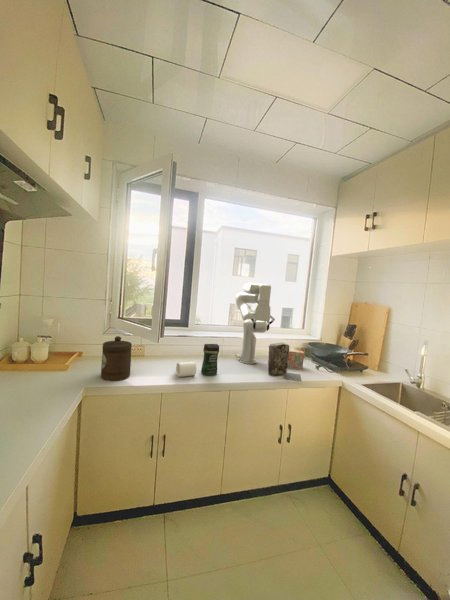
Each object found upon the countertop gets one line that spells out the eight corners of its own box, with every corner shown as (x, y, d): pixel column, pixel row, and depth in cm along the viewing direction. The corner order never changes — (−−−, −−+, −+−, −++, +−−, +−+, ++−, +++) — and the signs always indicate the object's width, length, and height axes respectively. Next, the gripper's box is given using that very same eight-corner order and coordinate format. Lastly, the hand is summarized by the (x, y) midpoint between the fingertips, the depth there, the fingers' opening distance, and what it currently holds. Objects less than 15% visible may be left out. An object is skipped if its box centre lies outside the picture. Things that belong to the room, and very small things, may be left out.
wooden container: (105, 370, 147) (108, 333, 146) (132, 371, 150) (135, 334, 148) (96, 380, 133) (99, 338, 131) (126, 381, 135) (129, 340, 133)
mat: (283, 378, 161) (283, 377, 161) (283, 372, 173) (283, 371, 173) (301, 381, 159) (301, 380, 159) (300, 375, 171) (300, 374, 170)
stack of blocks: (272, 366, 185) (274, 349, 184) (271, 363, 191) (273, 347, 190) (302, 369, 183) (304, 352, 182) (300, 366, 189) (302, 350, 189)
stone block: (279, 370, 175) (281, 341, 173) (287, 373, 169) (289, 343, 168) (266, 374, 166) (268, 343, 165) (274, 377, 161) (276, 346, 160)
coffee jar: (203, 376, 152) (206, 345, 151) (199, 371, 160) (202, 342, 158) (218, 375, 156) (221, 345, 155) (214, 370, 163) (216, 342, 162)
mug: (196, 377, 150) (197, 364, 149) (179, 379, 145) (180, 365, 145) (189, 370, 160) (190, 357, 160) (173, 371, 156) (174, 358, 155)
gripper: (249, 302, 166) (247, 329, 167) (277, 305, 162) (274, 332, 163) (251, 301, 173) (248, 327, 174) (277, 304, 170) (274, 330, 171)
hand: (260, 329), depth 169 cm, fingers open, 7 cm apart
